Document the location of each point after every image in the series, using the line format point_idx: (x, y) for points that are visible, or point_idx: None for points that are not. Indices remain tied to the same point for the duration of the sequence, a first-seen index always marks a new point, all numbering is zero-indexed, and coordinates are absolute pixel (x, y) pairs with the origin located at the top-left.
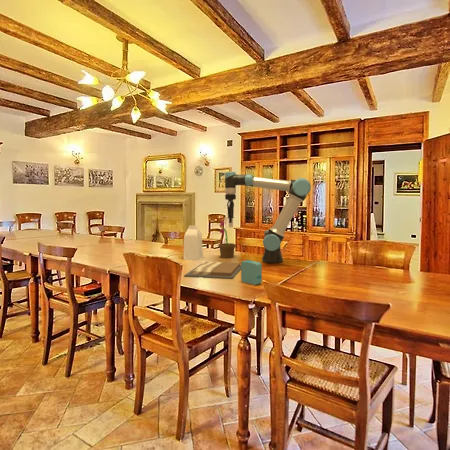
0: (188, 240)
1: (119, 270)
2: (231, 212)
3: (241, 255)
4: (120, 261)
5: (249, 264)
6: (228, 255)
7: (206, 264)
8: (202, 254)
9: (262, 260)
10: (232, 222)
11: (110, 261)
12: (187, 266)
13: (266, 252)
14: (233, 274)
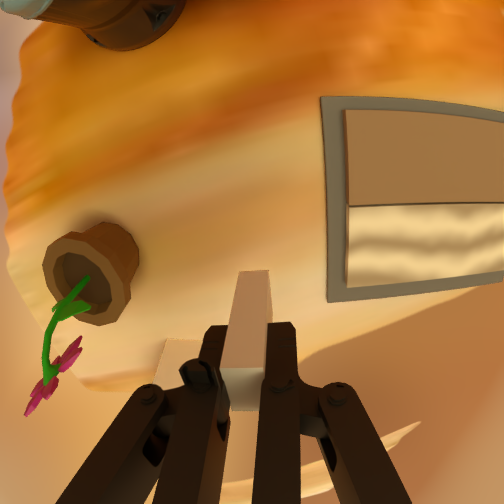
0: None
1: (407, 430)
2: (300, 485)
3: (52, 202)
4: (304, 466)
5: None
6: (127, 242)
7: (407, 263)
8: (169, 349)
9: (153, 39)
10: (266, 313)
11: (308, 473)
12: (357, 335)
13: (145, 3)
14: (498, 117)
